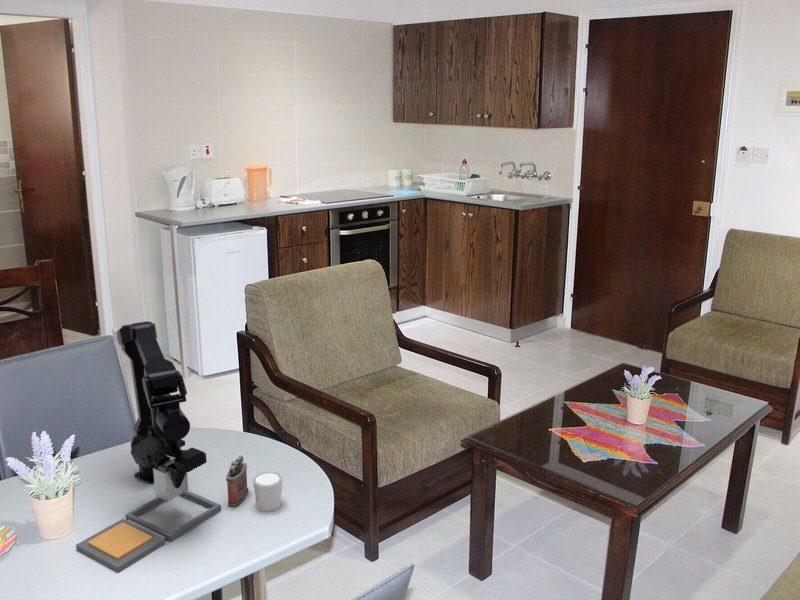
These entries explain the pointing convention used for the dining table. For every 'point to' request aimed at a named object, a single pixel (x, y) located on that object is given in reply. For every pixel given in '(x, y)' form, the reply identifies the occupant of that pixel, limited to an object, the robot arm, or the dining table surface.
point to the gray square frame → (171, 536)
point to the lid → (121, 544)
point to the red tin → (237, 482)
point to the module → (167, 482)
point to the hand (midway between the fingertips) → (171, 484)
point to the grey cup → (268, 490)
